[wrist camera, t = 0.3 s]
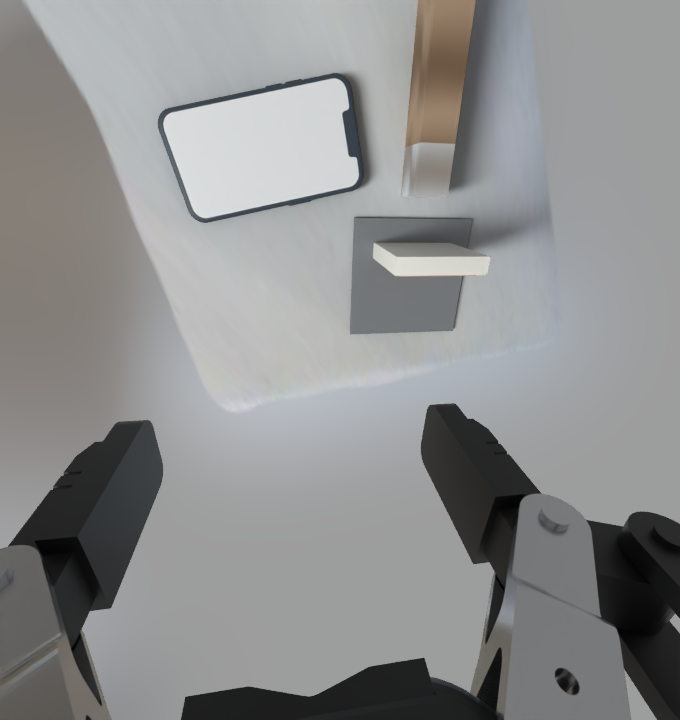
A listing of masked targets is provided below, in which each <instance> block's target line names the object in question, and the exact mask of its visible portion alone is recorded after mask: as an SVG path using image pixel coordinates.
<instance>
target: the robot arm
mask: <svg viewBox="0 0 680 720" xmlns="http://www.w3.org/2000/svg"><path fill="white" fill-rule="evenodd" d="M421 455H422V460H423V463H424V465H425V467H426V470H427V472H428V473H429V476H430V477H431V480H432V482H433V483H434V486H435V488H436V490H437V492H438V494H439V496H440V497H441V500H442V501H443V504H444V506H445V508H446V510H447V512H448V514H449V516H450V518H451V520H452V521H453V524H454V526H455V528H456V530H457V532H458V534H459V536H460V538H461V540H462V542H463V544H464V546H465V548H466V550H467V552H468V554H469V556H470V558H471V560H472V562H473V564H477V563H486V562H490V564H491V565H492V567H493V569H494V571H495V572H494V575H493V578H492V582H491V589H490V595H489V601H488V607H487V613H486V619H485V625H484V632H483V638H482V643H481V649H480V654H479V659H478V663H477V667H476V670H475V674H474V678H473V682H472V687H471V691H470V693H469V692H467V691H466V690H464V689H462V688H460V687H458V686H456V685H454V684H452V683H449V682H446V681H443V680H441V679H438V678H433V677H430V676H429V672H428V669H427V666H426V662H425V659H424V658H420V659H414V660H408V661H401V662H395V663H390V664H383V665H377V666H372V667H368V668H366V669H364V670H363V671H361V672H359V673H357V674H355V675H353V676H351V677H349V678H348V679H346V680H344V681H342V682H340V683H338V684H336V685H334V686H332V687H331V688H329V689H327V690H325V691H323V692H321V693H319V694H317V695H315V696H311V697H307V696H300V695H294V694H288V693H283V692H276V691H271V690H265V689H259V688H254V687H244V688H237V689H231V690H225V691H218V692H213V693H206V694H200V695H194V696H188V697H185V702H184V708H183V713H182V717H181V720H631V715H630V708H629V701H628V694H627V688H626V680H625V673H624V669H625V671H626V672H627V674H628V675H629V677H630V678H631V680H632V682H633V683H634V685H635V686H636V687H637V689H638V691H639V692H640V694H641V695H642V697H643V698H644V700H645V702H646V703H647V705H648V706H649V708H650V709H651V711H652V712H653V714H654V715H655V717H656V718H657V720H680V633H679V632H678V631H677V630H676V629H675V627H674V626H673V625H672V624H671V623H670V621H669V620H670V619H671V618H672V617H673V616H674V614H675V613H676V615H677V616H678V617H679V618H680V524H679V523H677V522H675V521H673V520H671V519H669V518H666V517H664V516H661V515H658V514H655V513H650V512H635V513H633V514H631V515H630V516H629V518H628V520H627V521H626V523H625V525H624V526H623V527H622V526H616V525H611V524H605V523H600V522H594V521H588V520H586V519H584V517H583V516H582V515H581V514H580V513H579V512H578V511H577V510H576V509H575V508H573V507H572V506H571V505H569V504H568V503H566V502H564V501H562V500H561V499H558V498H556V497H553V496H550V495H545V494H541V493H540V491H539V490H538V489H537V488H536V487H535V485H534V484H533V483H532V482H531V480H530V479H529V478H528V477H527V476H526V474H525V473H524V472H523V471H522V470H521V469H520V467H519V466H518V465H517V464H516V463H515V461H514V460H513V459H512V458H511V456H510V455H509V454H508V455H507V451H506V450H505V449H504V448H503V447H502V445H501V444H498V440H497V439H496V438H495V437H494V436H493V434H492V433H491V432H490V431H489V430H488V429H487V428H486V427H484V426H483V425H481V424H480V423H478V422H477V421H475V420H474V419H467V418H466V416H465V415H464V414H463V412H462V411H461V410H460V409H459V407H458V406H457V405H456V404H436V405H430V406H429V407H428V409H427V413H426V419H425V424H424V430H423V436H422V442H421ZM162 477H163V463H162V459H161V455H160V451H159V448H158V444H157V440H156V436H155V432H154V429H153V426H152V423H151V422H150V421H149V420H143V421H126V422H117V423H116V424H115V425H114V426H113V428H112V429H111V431H110V432H109V434H108V435H107V437H106V438H105V440H104V441H103V442H95V443H93V444H92V445H91V446H90V447H88V448H87V449H85V450H84V451H83V452H81V453H80V454H79V455H77V456H76V457H75V459H74V460H73V461H72V463H71V464H70V465H69V466H68V468H67V469H66V470H65V472H64V476H61V477H60V478H59V480H58V481H57V483H56V484H55V485H54V486H53V490H50V492H49V493H48V494H47V496H46V497H45V498H44V500H43V501H42V502H41V504H40V505H39V506H38V507H37V509H36V510H35V511H34V513H33V514H32V515H31V517H30V518H29V519H28V521H27V522H26V523H25V525H24V526H23V527H22V529H21V530H20V531H19V533H18V534H17V535H16V537H15V538H14V540H13V541H12V542H11V543H10V545H9V546H8V547H5V548H2V549H0V720H112V719H111V717H110V714H109V711H108V708H107V705H106V702H105V699H104V696H103V692H102V689H101V686H100V683H99V680H98V677H97V674H96V670H95V667H94V664H93V661H92V658H91V655H90V651H89V648H88V645H87V642H86V639H85V635H84V633H83V631H82V627H83V625H84V622H85V620H86V618H87V616H88V614H89V611H93V610H100V609H108V608H111V607H112V604H113V602H114V599H115V597H116V594H117V592H118V589H119V587H120V584H121V582H122V579H123V577H124V575H125V572H126V570H127V567H128V565H129V562H130V560H131V557H132V555H133V552H134V550H135V547H136V545H137V542H138V540H139V538H140V535H141V533H142V530H143V528H144V525H145V523H146V520H147V518H148V515H149V513H150V510H151V508H152V505H153V503H154V501H155V498H156V495H157V493H158V491H159V488H160V485H161V482H162Z"/></svg>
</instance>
